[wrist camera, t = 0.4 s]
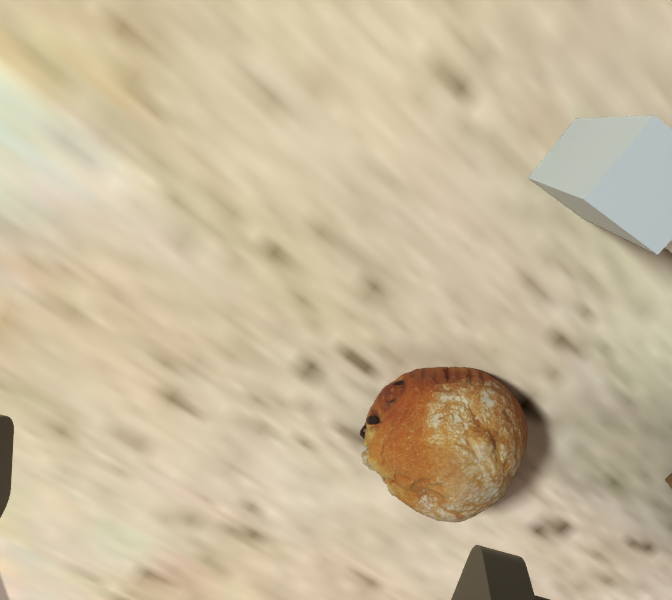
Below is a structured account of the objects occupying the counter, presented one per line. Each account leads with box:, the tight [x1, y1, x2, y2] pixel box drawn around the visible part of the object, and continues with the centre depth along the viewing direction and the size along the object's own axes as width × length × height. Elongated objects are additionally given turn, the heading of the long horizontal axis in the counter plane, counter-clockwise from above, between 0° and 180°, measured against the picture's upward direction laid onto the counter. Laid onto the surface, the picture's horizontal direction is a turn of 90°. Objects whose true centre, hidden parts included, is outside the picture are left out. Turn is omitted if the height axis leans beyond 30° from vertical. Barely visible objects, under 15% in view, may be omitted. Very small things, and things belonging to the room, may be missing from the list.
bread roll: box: [360, 367, 528, 522], centre depth 36 cm, size 10×10×8 cm
